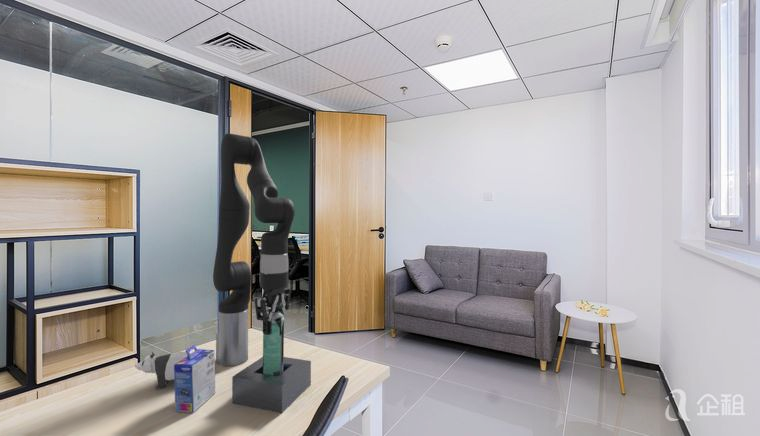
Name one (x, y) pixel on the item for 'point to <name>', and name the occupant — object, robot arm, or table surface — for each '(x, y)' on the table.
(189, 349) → the ink cartridge box
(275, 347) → the spray can
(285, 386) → the square collar
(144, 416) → the table surface
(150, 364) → the giant panda
